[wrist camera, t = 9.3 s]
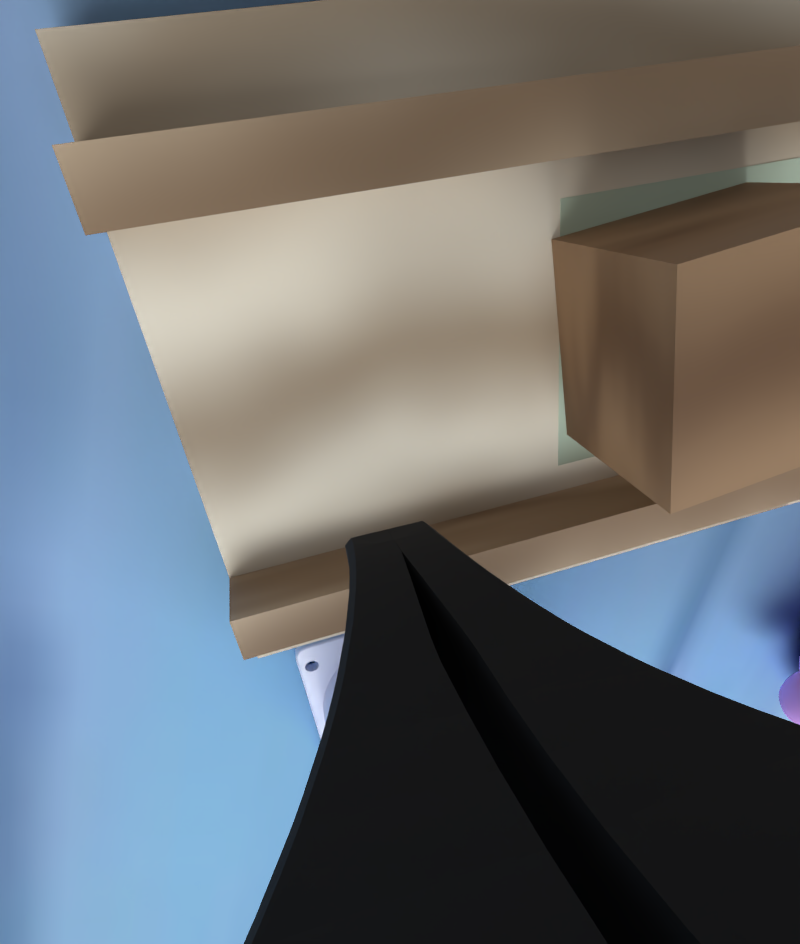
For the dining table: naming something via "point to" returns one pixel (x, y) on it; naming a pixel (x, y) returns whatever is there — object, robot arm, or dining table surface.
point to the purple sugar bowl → (791, 697)
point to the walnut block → (686, 342)
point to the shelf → (403, 257)
